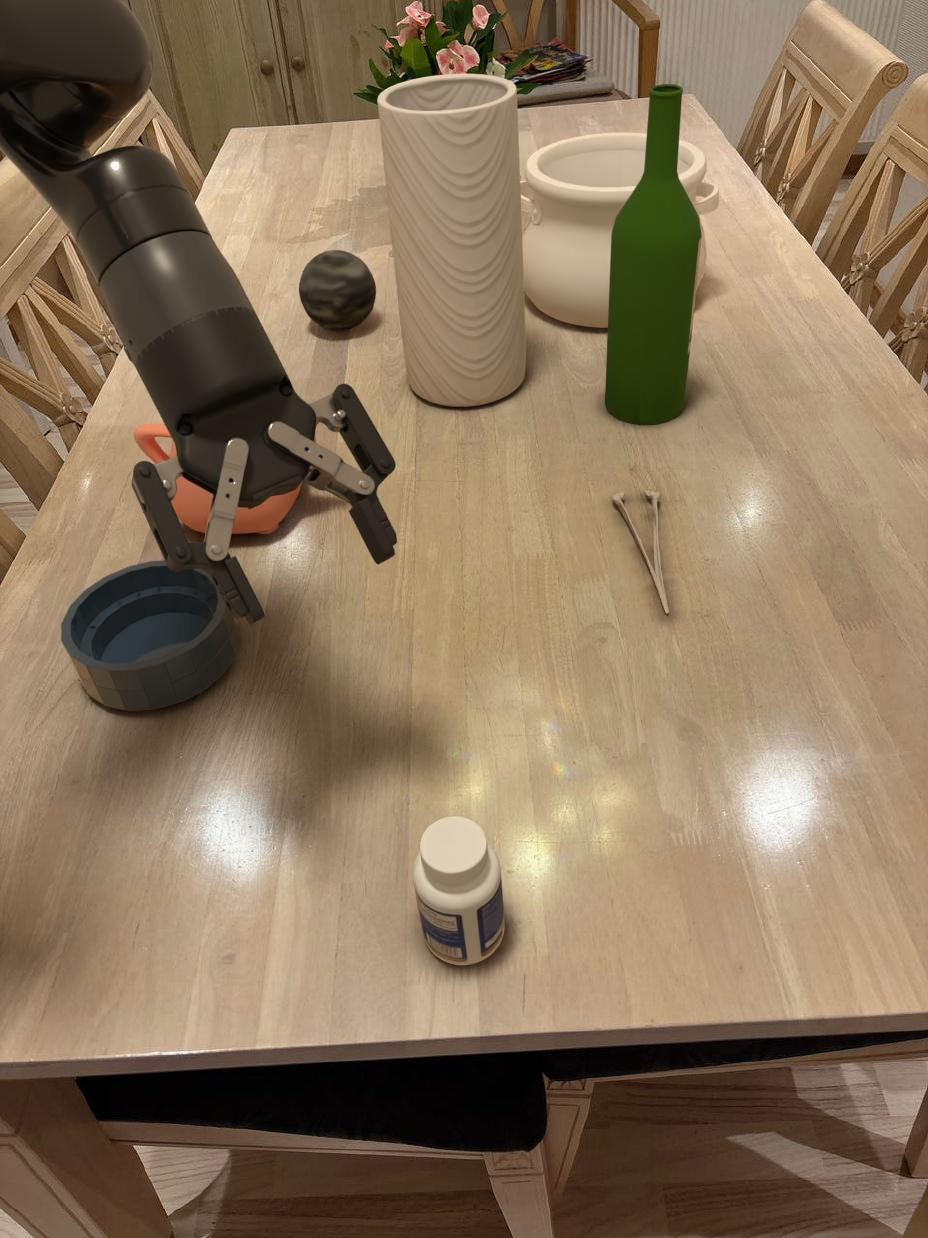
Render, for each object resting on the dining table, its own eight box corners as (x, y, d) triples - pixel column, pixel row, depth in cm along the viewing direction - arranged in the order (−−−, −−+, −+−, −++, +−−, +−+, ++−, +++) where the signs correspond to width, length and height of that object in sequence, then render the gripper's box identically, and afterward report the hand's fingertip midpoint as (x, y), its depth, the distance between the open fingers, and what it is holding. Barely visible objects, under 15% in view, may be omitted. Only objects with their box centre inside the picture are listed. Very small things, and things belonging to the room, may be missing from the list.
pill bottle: (489, 883, 66) (481, 795, 59) (517, 952, 62) (512, 866, 55) (412, 908, 65) (396, 821, 58) (436, 979, 61) (422, 895, 54)
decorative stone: (383, 339, 126) (373, 263, 119) (306, 348, 126) (292, 273, 119) (377, 306, 134) (368, 233, 127) (305, 315, 133) (292, 242, 126)
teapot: (335, 550, 94) (314, 443, 86) (138, 548, 96) (99, 443, 88) (359, 472, 104) (342, 369, 95) (179, 472, 106) (148, 371, 98)
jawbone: (609, 500, 97) (611, 484, 96) (657, 497, 97) (659, 481, 96) (638, 626, 85) (640, 611, 84) (692, 623, 85) (695, 607, 83)
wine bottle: (697, 416, 107) (734, 93, 86) (621, 431, 106) (638, 107, 84) (665, 379, 114) (691, 69, 92) (593, 392, 113) (602, 82, 91)
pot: (497, 332, 125) (491, 193, 114) (531, 256, 143) (528, 128, 131) (703, 342, 120) (719, 196, 108) (712, 261, 137) (727, 128, 125)
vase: (521, 412, 111) (513, 110, 89) (398, 411, 112) (361, 115, 91) (530, 352, 121) (524, 69, 100) (417, 352, 123) (388, 74, 102)
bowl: (115, 743, 77) (93, 696, 74) (62, 650, 86) (39, 604, 82) (268, 667, 83) (254, 619, 79) (203, 586, 91) (188, 540, 87)
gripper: (73, 351, 49) (220, 635, 50) (317, 269, 55) (447, 526, 55) (74, 403, 56) (204, 651, 57) (291, 325, 62) (407, 553, 62)
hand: (324, 589), depth 56 cm, fingers open, 8 cm apart
